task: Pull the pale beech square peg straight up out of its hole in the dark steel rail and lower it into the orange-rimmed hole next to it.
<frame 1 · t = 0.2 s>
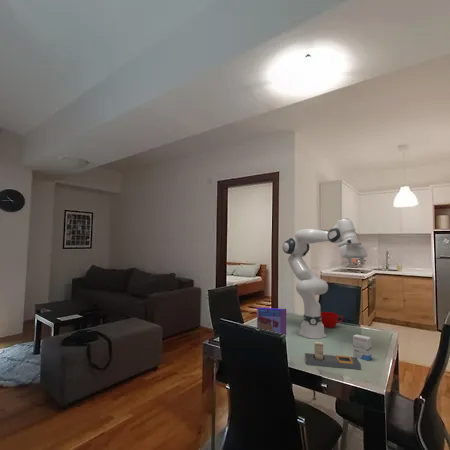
hand: (357, 264, 177), 52 cm above the table, tool tilted 20°, fingers open, 8 cm apart
ceramic cup: (331, 327, 230), on the table
ink box: (362, 358, 166), on the table
rail: (331, 363, 157), on the table
peg: (318, 362, 159), resting in rail
cereal box: (271, 349, 179), on the table
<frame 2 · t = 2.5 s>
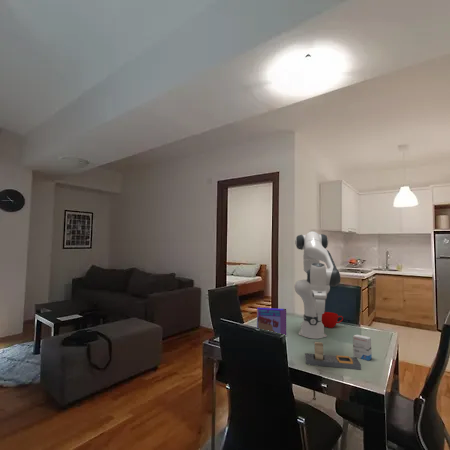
hand: (318, 318, 160), 23 cm above the table, tool pointing down, fingers open, 8 cm apart
nothing on the table moved.
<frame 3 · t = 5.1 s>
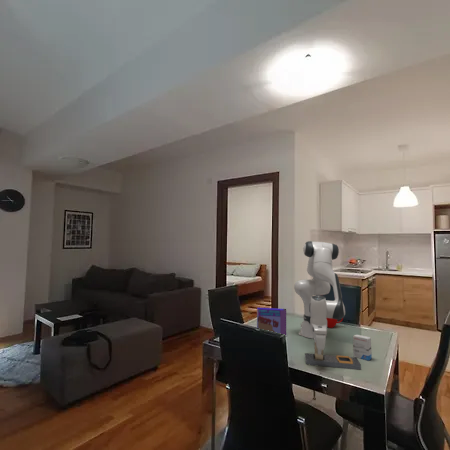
hand: (318, 352, 159), 5 cm above the table, tool pointing down, fingers closed on peg, 4 cm apart
peg: (318, 362, 159), resting in rail, touching gripper
everything else where it was.
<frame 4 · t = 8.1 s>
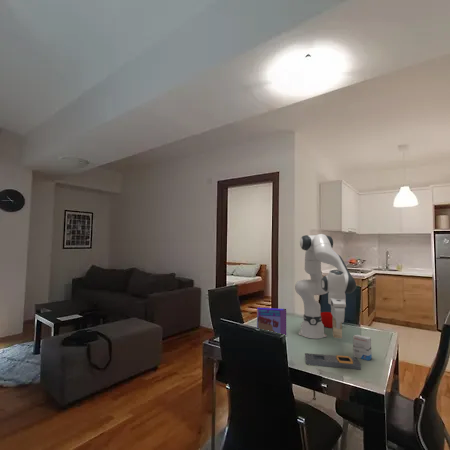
hand: (337, 327, 158), 19 cm above the table, tool pointing down, fingers closed on peg, 4 cm apart
peg: (337, 336, 158), point 14 cm above the table, touching gripper
everything else where it was.
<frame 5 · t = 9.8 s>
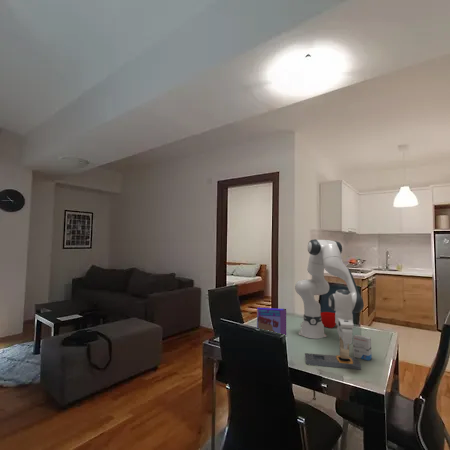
hand: (344, 347, 157), 9 cm above the table, tool pointing down, fingers closed on peg, 4 cm apart
peg: (344, 357, 156), point 4 cm above the table, touching gripper
everything else where it was.
when the fingers open (6 cm above the table, at t = 11.1 s): peg stays where it is, resting in rail.
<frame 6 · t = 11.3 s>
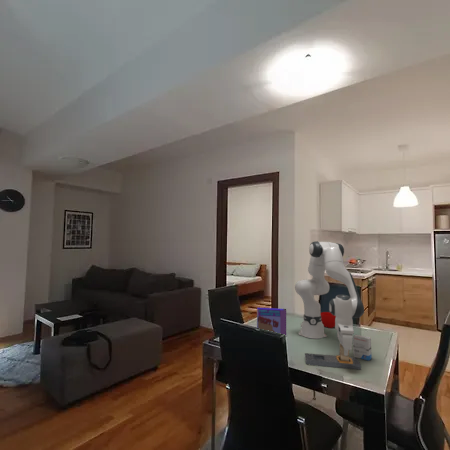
hand: (344, 352, 157), 6 cm above the table, tool pointing down, fingers open, 6 cm apart
peg: (344, 364, 156), resting in rail
everything else where it was.
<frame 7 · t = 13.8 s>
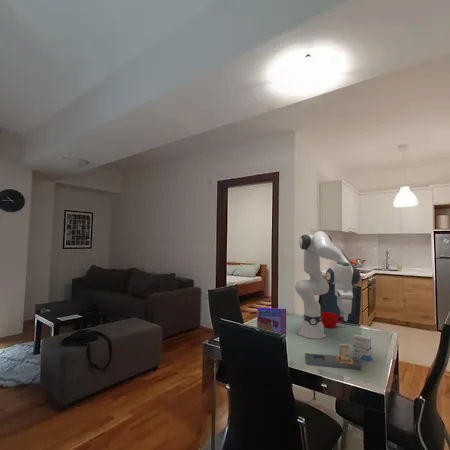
hand: (343, 318, 158), 24 cm above the table, tool pointing down, fingers open, 8 cm apart
nothing on the table moved.
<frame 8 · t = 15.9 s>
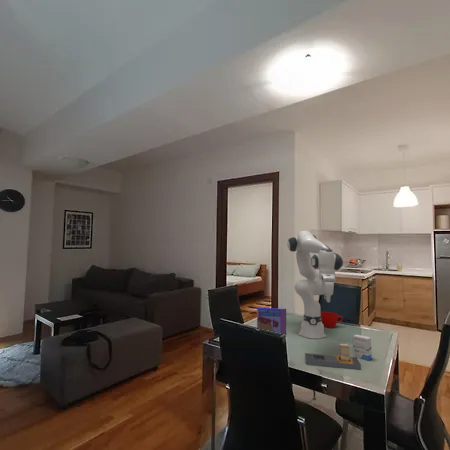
hand: (327, 300, 171), 31 cm above the table, tool pointing down, fingers open, 8 cm apart
nothing on the table moved.
at the end: peg 0.1 cm from the target spot on the rail, point 0.0 cm above the rail's base; peg tilted 0°; the gripper is holding nothing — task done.
